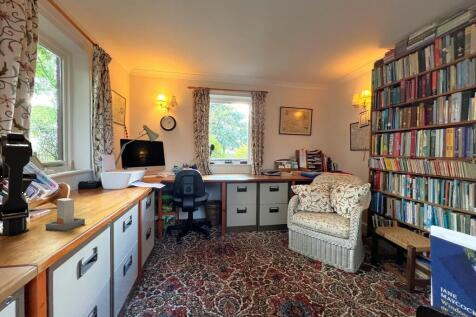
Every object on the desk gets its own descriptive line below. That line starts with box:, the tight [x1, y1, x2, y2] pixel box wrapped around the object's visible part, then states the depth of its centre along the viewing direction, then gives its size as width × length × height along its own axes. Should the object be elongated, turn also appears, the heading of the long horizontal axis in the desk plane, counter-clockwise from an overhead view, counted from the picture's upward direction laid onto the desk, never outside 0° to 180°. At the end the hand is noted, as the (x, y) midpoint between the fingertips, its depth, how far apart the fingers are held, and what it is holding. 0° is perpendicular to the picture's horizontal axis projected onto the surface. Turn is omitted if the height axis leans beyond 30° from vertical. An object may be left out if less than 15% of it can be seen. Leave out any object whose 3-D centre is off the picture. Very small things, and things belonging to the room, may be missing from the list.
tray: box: [45, 217, 86, 232], centre depth 102 cm, size 10×10×2 cm
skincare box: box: [56, 197, 75, 225], centre depth 102 cm, size 6×4×12 cm
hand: (11, 196), depth 102 cm, fingers open, 9 cm apart
